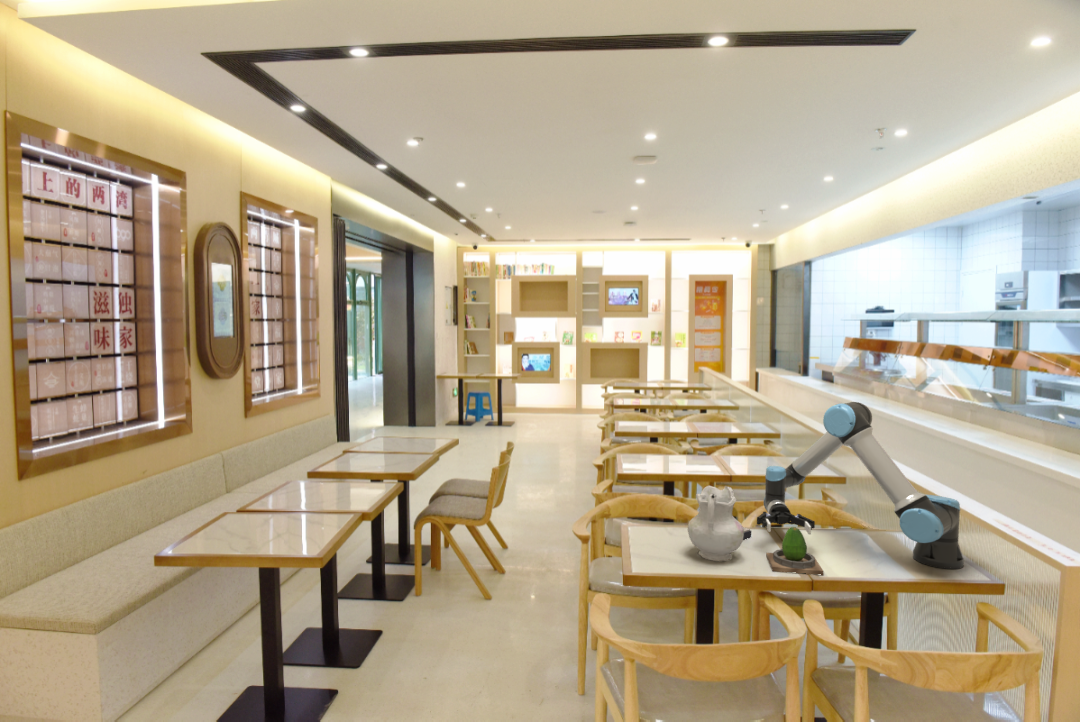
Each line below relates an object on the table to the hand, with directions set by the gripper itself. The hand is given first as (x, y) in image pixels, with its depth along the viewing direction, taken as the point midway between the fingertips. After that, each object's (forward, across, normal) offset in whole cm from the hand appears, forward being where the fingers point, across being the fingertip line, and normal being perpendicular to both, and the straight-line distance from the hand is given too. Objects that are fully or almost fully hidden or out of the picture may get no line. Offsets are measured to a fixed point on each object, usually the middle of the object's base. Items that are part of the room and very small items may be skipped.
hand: (789, 529), depth 222 cm
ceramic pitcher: (+5, +26, -10) cm, 28 cm away
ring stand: (+8, 0, -10) cm, 13 cm away
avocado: (+8, 0, -9) cm, 12 cm away
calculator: (-17, +19, -11) cm, 28 cm away
